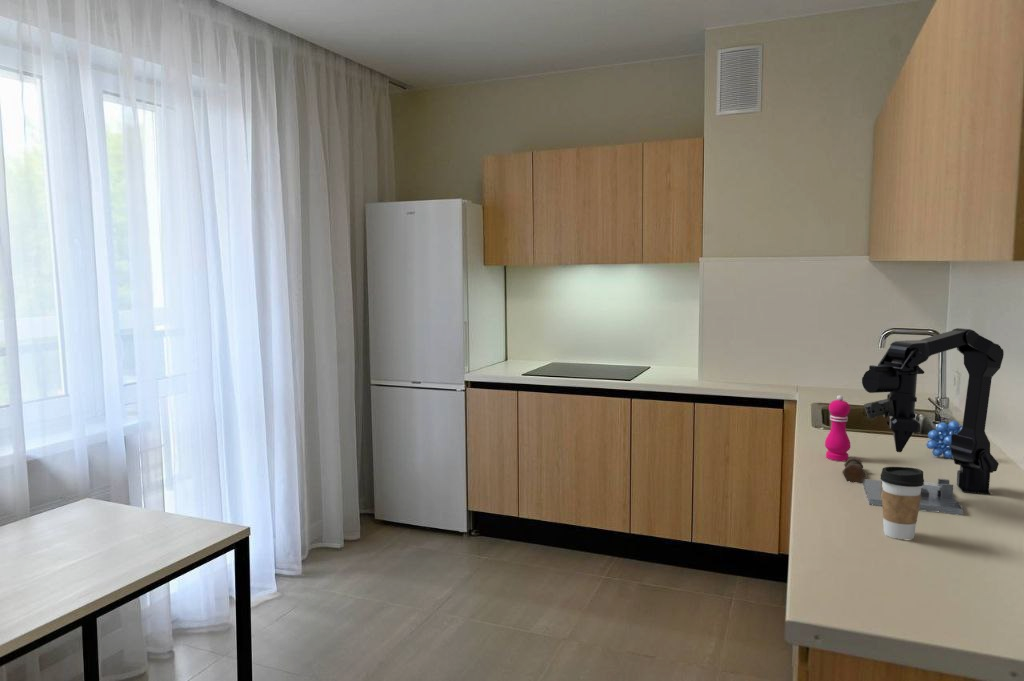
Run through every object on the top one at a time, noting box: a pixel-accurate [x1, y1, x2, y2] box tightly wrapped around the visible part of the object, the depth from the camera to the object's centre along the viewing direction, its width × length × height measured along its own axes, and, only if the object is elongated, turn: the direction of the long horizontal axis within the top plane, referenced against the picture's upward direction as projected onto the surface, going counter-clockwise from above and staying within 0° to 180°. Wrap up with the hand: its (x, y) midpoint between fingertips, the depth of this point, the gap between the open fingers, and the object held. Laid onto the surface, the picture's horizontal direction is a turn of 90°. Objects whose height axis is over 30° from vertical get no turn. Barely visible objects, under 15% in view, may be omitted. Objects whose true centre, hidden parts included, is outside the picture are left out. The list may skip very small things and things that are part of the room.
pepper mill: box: [824, 394, 851, 462], centre depth 216 cm, size 7×7×20 cm
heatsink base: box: [862, 478, 964, 516], centre depth 179 cm, size 20×18×5 cm
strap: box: [921, 480, 942, 491], centre depth 179 cm, size 14×3×1 cm, turn 68°
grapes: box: [925, 420, 963, 459], centre depth 218 cm, size 12×7×12 cm, turn 66°
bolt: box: [841, 457, 866, 483], centre depth 200 cm, size 6×5×15 cm
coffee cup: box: [879, 466, 925, 540], centre depth 154 cm, size 8×8×15 cm
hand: (898, 451), depth 178 cm, fingers closed
